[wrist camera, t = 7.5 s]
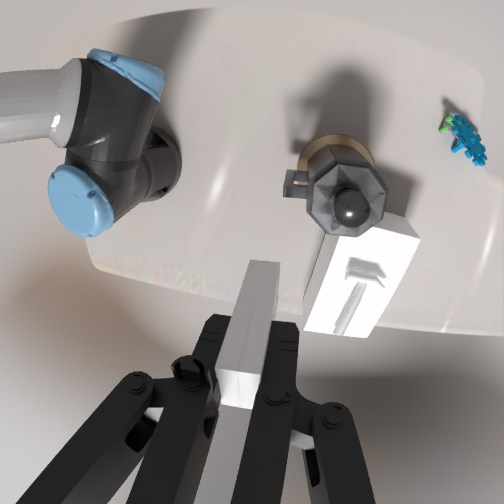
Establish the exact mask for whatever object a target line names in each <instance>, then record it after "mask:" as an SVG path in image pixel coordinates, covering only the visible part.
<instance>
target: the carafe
mask: <svg viewBox="0 0 504 504" xmlns="http://www.w3.org/2000/svg"><path fill="white" fill-rule="evenodd" d="M294 181H300V182H306V185H298V184H294ZM344 188H353V189H357V190H358V191H360V192H361V193H363V194H364V196H365V197H366V199H367V201H368V202H369V205H370V215H369V218H368V219H367V221H366V222H365V223H364V224H362V225H361V226H359V227H355V228H349V227H345V226H343V225H341V224H340V223H339V222H338V221H337V219H336V217H335V213H334V209H333V203H334V200H335V195H336V194H337V193H339V192H340V191H341V190H343V189H344ZM387 195H388V187H387V186H386V184H385V183H384V181H383V180H382V179H381V177H380V176H379V174H378V173H377V172H376V170H375V169H374V168H373V166H372V165H371V164H370V162H369V161H368V160H367V159H366V158H364V157H363V156H362V155H361V154H360V153H359V152H358V151H357V150H356V149H355V148H354V147H350V146H345V145H341V144H328V145H327V144H326V145H325V146H324V147H322V148H320V149H319V150H317V151H316V152H315V153H314V154H313V155H312V157H311V158H309V159H308V161H307V170H306V171H300V170H287V172H286V177H285V181H284V185H283V197H291V198H303V199H306V211H307V213H308V214H309V215H310V216H311V217H312V218H313V219H314V220H315V222H316V223H317V224H318V225H319V226H320V227H321V228H322V229H323V231H324V232H325V233H326V234H327V235H338V236H348V237H359V236H360V235H362V234H363V233H365V232H366V231H367V230H369V229H370V228H372V227H373V226H374V225H376V224H377V223H379V222H380V221H381V220H382V219H383V216H384V211H385V206H386V200H387Z"/></svg>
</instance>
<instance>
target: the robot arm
mask: <svg viewBox="0 0 504 504" xmlns="http://www.w3.org/2000/svg"><path fill="white" fill-rule="evenodd" d="M165 81H166V75H165V73H164V71H163V70H162V69H160V68H158V67H156V66H153V65H151V64H148V63H145V62H142V61H139V60H136V59H133V58H129V57H126V56H122V55H118V54H115V53H111V52H108V51H104V50H100V49H95V48H94V49H92V50H91V51H90V52H89V53H88V54H87V59H83V58H73V59H72V60H70V61H69V62H68V63H67V64H65V65H64V66H63V67H62V68H60V69H54V70H53V69H51V70H25V71H12V72H3V73H0V144H4V143H10V142H17V141H24V140H31V139H39V138H49V139H50V140H51V141H52V142H53V143H54V144H55V145H56V146H57V147H58V148H67V151H66V158H65V164H63V165H60V166H58V167H57V168H56V170H55V171H54V172H53V173H52V174H51V176H50V178H49V183H48V195H49V200H50V203H51V206H52V208H53V211H54V213H55V214H56V215H57V217H58V219H59V220H60V222H61V223H62V224H63V225H64V226H65V227H66V228H67V229H68V230H69V231H71V232H72V233H74V234H76V235H78V236H81V237H85V238H91V237H95V236H97V235H99V234H100V233H102V232H103V231H105V230H108V229H109V228H111V227H112V226H113V224H114V223H115V222H116V221H118V220H119V219H120V218H121V217H122V216H124V215H125V214H126V213H128V212H129V211H130V210H131V209H133V208H134V207H135V206H137V205H138V204H139V203H142V202H149V201H155V200H157V199H160V198H162V197H163V196H165V195H166V194H167V193H169V192H170V191H171V190H172V189H173V188H174V187H175V185H176V184H177V182H178V180H179V177H180V173H181V156H180V153H179V150H178V147H177V145H176V144H175V142H174V141H173V139H172V138H171V137H170V136H169V135H168V134H167V133H166V132H164V131H162V130H161V129H158V128H155V127H151V124H152V120H153V117H154V114H155V111H156V108H157V105H158V103H160V102H161V98H160V97H161V94H162V91H163V88H164V85H165ZM279 274H280V262H269V261H258V260H250V262H249V265H248V268H247V271H246V274H245V277H244V280H243V283H242V287H241V290H240V293H239V296H238V299H237V302H236V305H235V308H234V311H233V314H232V316H226V315H219V314H213V315H212V316H211V317H210V318H209V319H208V320H207V321H206V322H205V325H204V327H203V329H202V332H201V335H200V337H199V340H198V342H197V344H196V347H195V349H194V351H193V354H192V355H186V356H183V357H180V358H178V359H177V360H175V361H174V362H173V364H172V365H171V369H172V371H173V374H174V376H175V377H173V378H165V379H164V378H163V379H152V378H151V377H150V376H149V375H148V374H147V373H144V372H141V371H139V372H132V373H129V374H128V375H127V376H125V377H124V378H123V379H122V380H121V381H120V383H119V384H118V385H117V386H116V387H115V388H114V389H113V391H112V392H111V393H110V394H109V395H108V396H107V397H106V398H105V400H104V401H103V402H102V403H101V404H100V405H99V406H98V408H97V409H96V410H95V411H94V412H93V413H92V414H91V416H90V417H89V418H88V419H87V420H86V421H85V422H84V424H83V425H82V426H81V427H80V428H79V429H78V431H77V432H76V433H75V434H74V435H73V436H72V437H71V439H70V440H69V441H68V442H67V443H66V444H65V446H64V447H63V448H62V449H61V450H60V452H59V453H58V454H57V455H56V456H55V457H54V459H53V460H52V461H51V462H50V463H49V464H48V466H47V467H46V468H45V469H44V470H43V471H42V473H41V474H40V475H39V476H38V477H37V479H36V480H35V481H34V482H33V483H32V484H31V486H30V487H29V488H28V489H27V490H26V492H25V493H24V494H23V495H22V496H21V498H20V499H19V500H18V501H17V503H16V504H107V503H108V502H109V501H110V500H111V498H112V497H113V496H114V494H115V493H116V492H117V491H118V489H119V488H120V487H121V485H122V484H123V483H124V482H125V480H126V479H127V478H128V476H129V475H130V474H131V472H132V471H133V470H134V469H135V467H136V466H137V464H138V463H139V462H140V461H141V459H142V458H143V457H144V458H143V461H142V463H141V466H140V469H139V471H138V473H137V476H136V479H135V481H134V484H133V486H132V489H131V492H130V494H129V497H128V500H127V502H126V504H193V503H194V500H195V497H196V493H197V490H198V486H199V483H200V479H201V476H202V473H203V469H204V466H205V462H206V459H207V455H208V452H209V449H210V445H211V442H212V438H213V435H214V431H215V427H216V424H217V421H218V417H219V411H218V408H219V404H220V401H221V403H222V404H223V405H229V406H235V407H241V408H247V409H252V414H251V419H250V423H249V427H248V432H247V437H246V441H245V446H244V450H243V454H242V458H241V462H240V467H239V471H238V475H237V480H236V483H235V488H234V492H233V496H232V500H231V503H230V504H280V502H281V495H282V490H283V484H284V478H285V472H286V464H287V458H288V451H289V444H291V445H294V446H297V447H299V448H302V453H303V459H304V465H305V470H306V476H307V482H308V488H309V495H310V501H311V504H376V503H375V499H374V495H373V491H372V487H371V483H370V479H369V475H368V471H367V467H366V463H365V460H364V456H363V453H362V449H361V445H360V442H359V438H358V435H357V431H356V427H355V424H354V421H353V417H352V414H351V412H350V411H349V409H348V408H347V407H346V406H344V405H343V404H340V403H337V402H328V403H325V404H323V405H320V404H317V403H315V402H312V401H309V400H307V399H305V398H304V397H303V396H302V395H300V393H299V392H298V390H297V388H296V370H297V358H298V345H299V330H298V328H297V326H296V324H295V323H292V322H281V321H275V315H276V309H277V302H278V288H279ZM144 455H145V456H144Z"/></svg>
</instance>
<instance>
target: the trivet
mask: <svg viewBox="0 0 504 504" xmlns="http://www.w3.org/2000/svg"><path fill="white" fill-rule="evenodd" d="M326 144H327V145H328V144H341V145H345V146H350V147H354V148H355V149H356V150H357V151H358V152H359V153H360V154H361V155H362V156H363V157H364V158H366V159H367V160H368V161H369V162H370V164H371V165H372V166H373V168H374V169H375V167H374V163H373V160H372V157H371V155H370V154H369V152H368V151H367V150H366V148H365V147H364V146H363V145H362V144H360V143H359V142H358V141H356V140H355V139H352V138H350V137H348V136H344V135H336V134H334V135H326V136H323V137H320V138H318V139H316V140H314V141H313V142H312V143H310V144H309V145H308V146H307V147H306V148H305V150H304V151H303V153H302V154H301V156H300V159H299V162H298V167H297V170H300V171H306V170H307V161H308V159H309V158H311V157H312V155H313V154H314V153H315V152H316V151H317V150H319V149H320V148H322V147H324V146H325V145H326ZM298 183H299V185H306V182H300V181H298Z"/></svg>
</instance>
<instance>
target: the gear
mask: <svg viewBox="0 0 504 504" xmlns="http://www.w3.org/2000/svg"><path fill="white" fill-rule="evenodd" d="M445 120H446V122H445V124H446V125H445V126H443V127H442V128H441V129H439V132H440V133H442V132H444V131H445V130H446V129H449V130H450V131H451V132H452V133H453V135H454V136H455V137H456V138H457V139H458V140H457V142H458V145H456V146H454V147H453V148H451V150H452V152H453V153H455V152H457V151H459V150H460V149H462V148H464V147H465V148H467V149H468V150H467V151H465V155H466V156H467V158H468V159H469V158H471V157H472V154H473V156H474V159H473V163H474V164H475V165H476V166H477V165H480V166H484V165H485V162H484V161H486V160H487V157H486V155H485V154H484V152H485V147H484V146H483V145H482V144H481V143H480V142H479V141H481V138H480V135H479V134H477V135H476V134H474V133H473V131H474V130H475V128H474V127H473V125H472V124H470V125H468V126H467V125H466V123H467V120H466V118H465V117H462V118H461V117H460V116H459V115H455V116H454V118H453V116H452V115H449V116H447V117H446V118H445Z"/></svg>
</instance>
